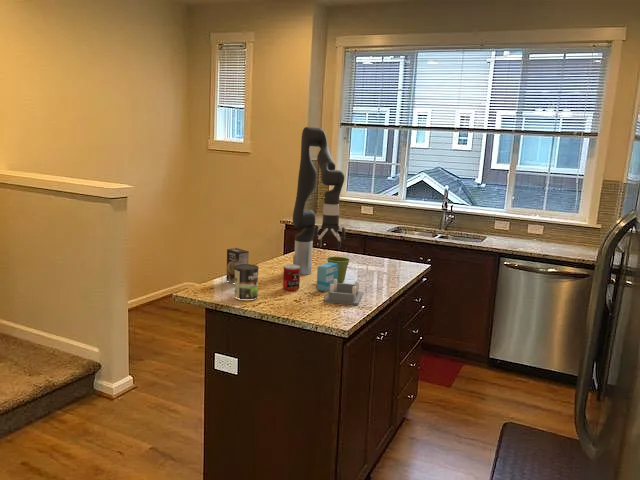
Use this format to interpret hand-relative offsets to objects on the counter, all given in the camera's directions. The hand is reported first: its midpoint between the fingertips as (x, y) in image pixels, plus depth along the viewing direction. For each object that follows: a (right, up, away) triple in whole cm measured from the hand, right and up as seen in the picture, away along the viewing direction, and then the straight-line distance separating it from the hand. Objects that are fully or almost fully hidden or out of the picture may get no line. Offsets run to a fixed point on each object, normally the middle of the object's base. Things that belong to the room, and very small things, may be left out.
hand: (329, 247), depth 259 cm
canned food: (-18, -20, +1) cm, 26 cm away
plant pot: (+4, -17, +20) cm, 26 cm away
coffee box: (-44, -17, +7) cm, 48 cm away
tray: (+6, -22, -10) cm, 25 cm away
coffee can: (-37, -22, -17) cm, 46 cm away
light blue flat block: (-1, -20, +4) cm, 20 cm away
